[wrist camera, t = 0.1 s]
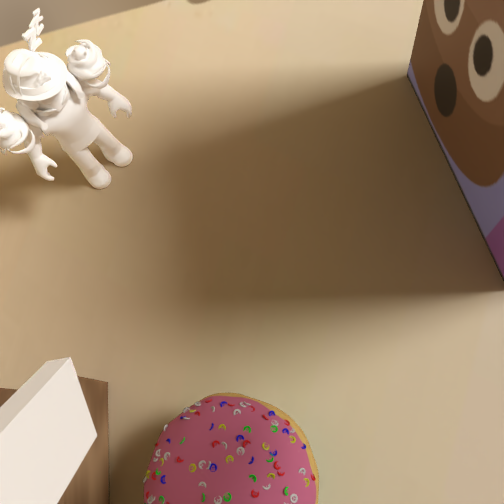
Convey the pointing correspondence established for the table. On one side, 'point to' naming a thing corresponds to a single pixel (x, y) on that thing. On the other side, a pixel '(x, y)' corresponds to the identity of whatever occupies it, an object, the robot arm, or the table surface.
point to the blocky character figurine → (61, 106)
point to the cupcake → (232, 456)
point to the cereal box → (466, 102)
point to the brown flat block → (92, 451)
